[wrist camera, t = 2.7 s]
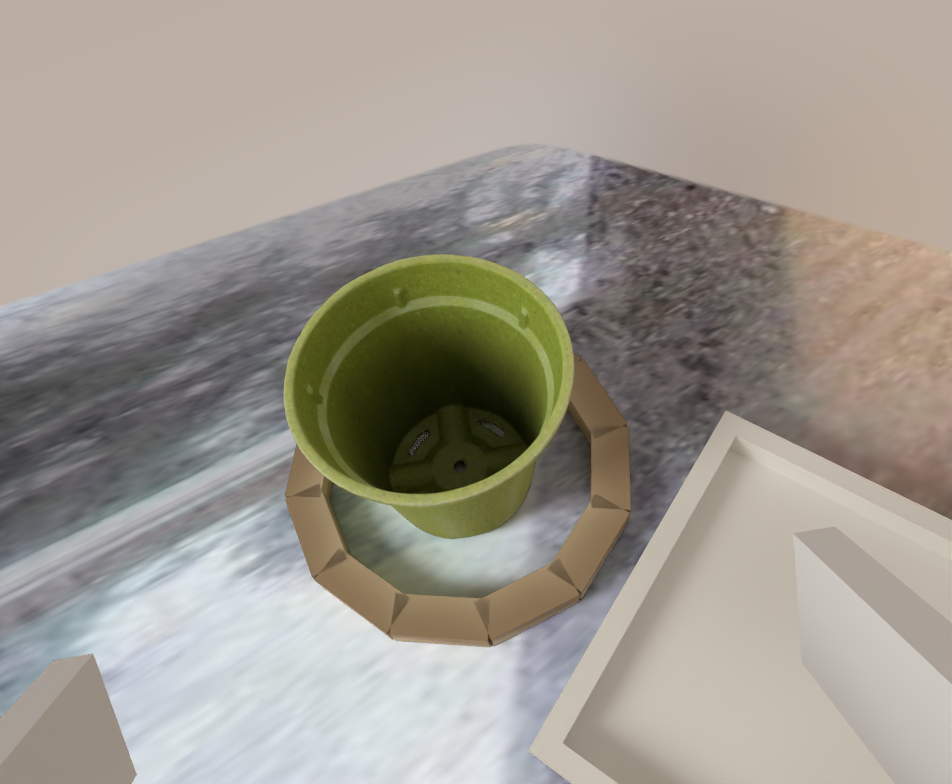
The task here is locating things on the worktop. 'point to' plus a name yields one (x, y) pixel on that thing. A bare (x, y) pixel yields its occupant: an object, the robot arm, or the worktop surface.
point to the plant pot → (432, 389)
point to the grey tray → (734, 628)
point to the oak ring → (509, 604)
